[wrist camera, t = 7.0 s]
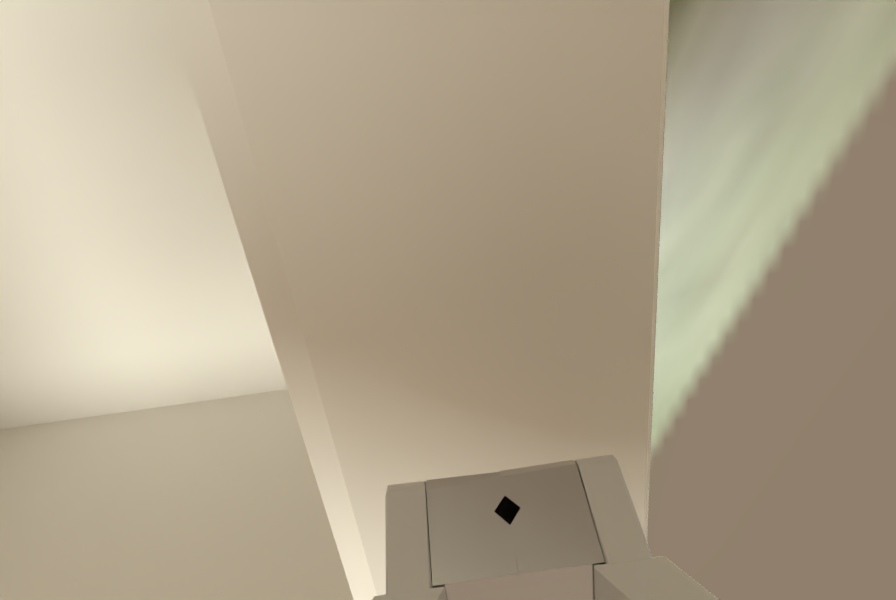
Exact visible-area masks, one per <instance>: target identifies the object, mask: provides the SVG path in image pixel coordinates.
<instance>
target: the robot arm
mask: <svg viewBox="0 0 896 600" xmlns="http://www.w3.org/2000/svg"><path fill="white" fill-rule="evenodd" d="M385 526H386V594H384V595H378V596H374V597H373V599H372V600H719V599H717V598H716V597H715V596H714V595H713V594H711V593H710V592H709V591H707V590H706V589H705V588H704V587H702V586H701V585H700V584H699V583H697V582H696V581H695V580H694V579H692V578H691V577H690V576H689V575H687V574H686V573H685V572H683V571H682V570H681V569H680V568H679V567H677V566H676V565H675V564H674V563H672V562H671V561H670V560H668V559H667V558H666V557H665V556H663V557H652V555H651V552H650V550H649V546H648V544H647V541H646V538H645V535H644V533H643V530H642V527H641V524H640V521H639V519H638V516H637V513H636V510H635V507H634V505H633V502H632V499H631V496H630V494H629V491H628V488H627V485H626V482H625V480H624V477H623V474H622V471H621V468H620V466H619V463H618V460H617V459H616V458H615V457H614V456H613V455H612V454H611V455H605V456H598V457H591V458H584V459H577V460H575V461H573V460H568V461H562V462H555V463H548V464H542V465H535V466H528V467H522V468H515V469H508V470H502V471H500V472H493V473H484V474H475V475H467V476H458V477H449V478H440V479H431V480H426V481H419V482H410V483H402V484H393V485H388V486H387V491H386V495H385Z"/></svg>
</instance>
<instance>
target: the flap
mask: <svg viewBox="0 0 896 600" xmlns="http://www.w3.org/2000/svg"><path fill="white" fill-rule="evenodd" d="M208 1H209V5H210V8H211V12H212V15H213V19H214V22H215V26H216V30H217V33H218V37H219V40H220V44H221V47H222V51H223V54H224V58H225V61H226V65H227V68H228V72H229V75H230V79H231V82H232V86H233V89H234V93H235V97H236V100H237V104H238V107H239V111H240V114H241V118H242V121H243V125H244V128H245V132H246V135H247V139H248V142H249V146H250V149H251V153H252V156H253V160H254V164H255V167H256V171H257V174H258V178H259V181H260V185H261V188H262V192H263V195H264V199H265V202H266V206H267V209H268V213H269V216H270V220H271V223H272V227H273V231H274V234H275V238H276V241H277V245H278V248H279V252H280V255H281V259H282V262H283V266H284V269H285V273H286V276H287V280H288V283H289V287H290V290H291V294H292V298H293V301H294V305H295V308H296V312H297V315H298V319H299V322H300V326H301V329H302V333H303V336H304V340H305V343H306V347H307V350H308V354H309V357H310V361H311V365H312V368H313V372H314V375H315V379H316V382H317V386H318V389H319V393H320V396H321V400H322V403H323V407H324V410H325V414H326V417H327V421H328V424H329V428H330V432H331V435H332V439H333V442H334V446H335V449H336V453H337V456H338V460H339V463H340V467H341V470H342V474H343V477H344V481H345V484H346V488H347V491H348V495H349V499H350V502H351V506H352V509H353V513H354V516H355V520H356V523H357V527H358V530H359V534H360V537H361V541H362V544H363V548H364V551H365V555H366V558H367V562H368V566H369V569H370V573H371V576H372V580H373V583H374V587H375V590H376V594H377V596H378V595H384V594H386V526H385V495H386V491H387V486H388V485H393V484H402V483H410V482H419V481H426V480H431V479H440V478H449V477H458V476H467V475H475V474H484V473H493V472H500V471H502V470H508V469H515V468H522V467H528V466H535V465H542V464H548V463H555V462H562V461H568V460H573V461H575V460H577V459H584V458H591V457H598V456H605V455H611V454H612V455H613V456H614V457H615V458H616V459H617V460H618V463H619V466H620V468H621V471H622V474H623V477H624V480H625V482H626V485H627V488H628V491H629V494H630V496H631V499H632V502H633V505H634V507H635V510H636V513H637V516H638V519H639V521H640V524H641V527H642V530H643V533H644V535H645V538H646V541H647V524H648V501H649V476H650V454H651V430H652V407H653V383H654V359H655V336H656V312H657V288H658V265H659V241H660V217H661V194H662V170H663V146H664V123H665V99H666V75H667V51H668V28H669V4H670V0H208Z"/></svg>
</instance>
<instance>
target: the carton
mask: <svg viewBox="0 0 896 600" xmlns="http://www.w3.org/2000/svg"><path fill="white" fill-rule="evenodd" d="M374 596H377V594H376V590H375V587H374V583H373V580H372V576H371V573H370V569H369V566H368V562H367V558H366V555H365V551H364V548H363V544H362V541H361V537H360V534H359V530H358V527H357V523H356V520H355V516H354V513H353V509H352V506H351V502H350V499H349V495H348V491H347V488H346V484H345V481H344V477H343V474H342V470H341V467H340V463H339V460H338V456H337V453H336V449H335V446H334V442H333V439H332V435H331V432H330V428H329V424H328V421H327V417H326V414H325V410H324V407H323V403H322V400H321V396H320V393H319V389H318V386H317V382H316V379H315V375H314V372H313V368H312V365H311V361H310V357H309V354H308V350H307V347H306V343H305V340H304V336H303V333H302V329H301V326H300V322H299V319H298V315H297V312H296V308H295V305H294V301H293V298H292V294H291V290H290V287H289V283H288V280H287V276H286V273H285V269H284V266H283V262H282V259H281V255H280V252H279V248H278V245H277V241H276V238H275V234H274V231H273V227H272V223H271V220H270V216H269V213H268V209H267V206H266V202H265V199H264V195H263V192H262V188H261V185H260V181H259V178H258V174H257V171H256V167H255V164H254V160H253V156H252V153H251V149H250V146H249V142H248V139H247V135H246V132H245V128H244V125H243V121H242V118H241V114H240V111H239V107H238V104H237V100H236V97H235V93H234V89H233V86H232V82H231V79H230V75H229V72H228V68H227V65H226V61H225V58H224V54H223V51H222V47H221V44H220V40H219V37H218V33H217V30H216V26H215V22H214V19H213V15H212V12H211V8H210V5H209V1H208V0H0V600H372V599H373V597H374Z"/></svg>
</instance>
